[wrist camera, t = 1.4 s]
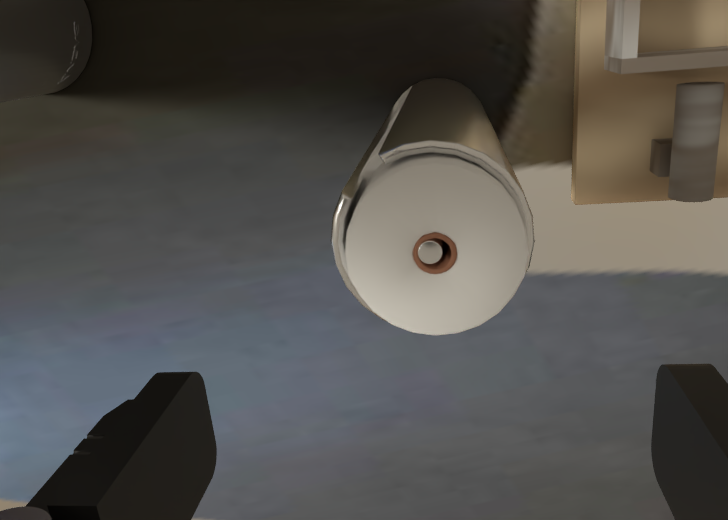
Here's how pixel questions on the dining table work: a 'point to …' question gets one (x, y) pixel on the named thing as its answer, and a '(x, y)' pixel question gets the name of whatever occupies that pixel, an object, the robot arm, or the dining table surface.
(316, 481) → the dining table surface
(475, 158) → the air filter
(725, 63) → the coupling stand
